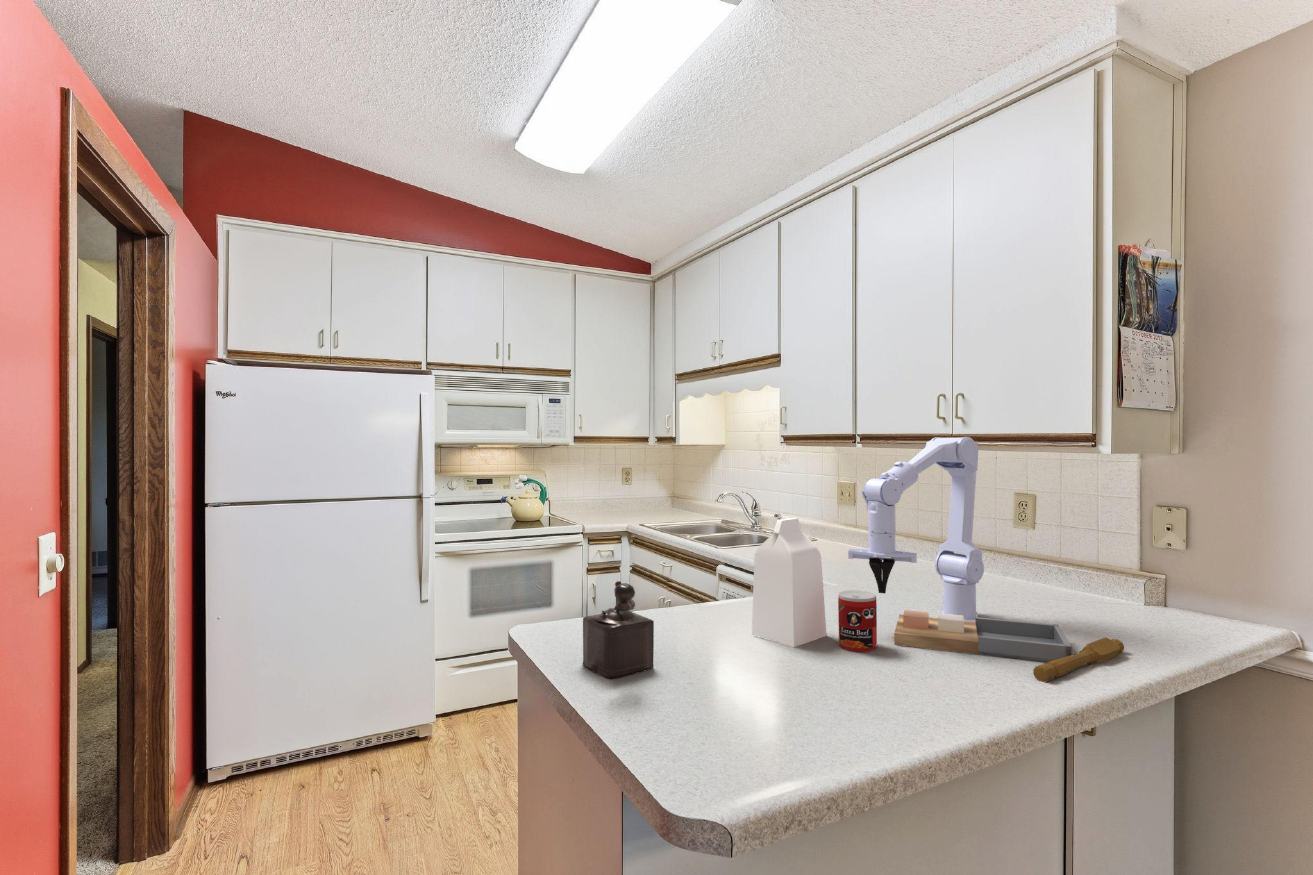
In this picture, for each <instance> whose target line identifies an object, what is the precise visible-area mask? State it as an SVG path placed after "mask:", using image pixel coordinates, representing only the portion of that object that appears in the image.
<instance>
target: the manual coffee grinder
mask: <svg viewBox="0 0 1313 875" xmlns="http://www.w3.org/2000/svg"><path fill="white" fill-rule="evenodd" d="M614 586H615V587H614V589H613V592H614V597H615V606H614V607H609V608H608V609H606V610H601V613H599V614H594V615H589V616H588V615H587V616H583V618H582V655H583V656H582V665H583V666H584V665H585V666H584V667H586V668H587V669H589V670H590V671H591V672H594V673H595V674H598V675H600V676H603V677H605V678H608V679H616V678H617V679H618V678H623V677H628V676H631V675H635V673H636V674H638V673H637V672H640V673H642V671H643V672H645V671H644V670H646V671H649V670H652V669H653V668H654V646H655V645H654V644H655V640H654V639H655V638H654V637H655V633H654V630H655V629H654V627H655V626H654V625H655V624H654V622H655V620H652V619H651V618H648V617H646V616H643V615H640V614H638V613H636V612H633V611H631V610H633V609H636V603H635V600H633V598H634V597H635V596H636V591H635V588H634V586H633V585H631V584H629V583H626V582H625V583H623V582H622V581H620V580H617V581H615V583H614ZM651 668H652V669H651ZM648 669H649V670H648Z"/></svg>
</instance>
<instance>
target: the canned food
mask: <svg viewBox="0 0 1313 875" xmlns="http://www.w3.org/2000/svg"><path fill="white" fill-rule="evenodd" d="M837 597H838V598H837V604H838V610H837V611H838V644H839V646H840V647H841V648H842V649H843V650H846V651H850V652H858V653H865V652H871V651H872V652H873V651H874V650H875V649H876V648H877V644H878V638H877V637H878V636H877V635H878V634H877V633H878V632H877V631H878V626H877V624H878V623H877V611H878V610H877V609H878V608H877V606H878V605H877V594H875V593H874V592H872V591H871V592H870V591H866V590H859V589H849V590H842V591H839V592H838V596H837Z"/></svg>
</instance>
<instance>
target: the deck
mask: <svg viewBox="0 0 1313 875" xmlns="http://www.w3.org/2000/svg"><path fill="white" fill-rule="evenodd" d="M903 615H904V614H898V618H897V621H896V626H895V629H894V633H893V634H894V636H893V637H894V640H893V641H894V645H895V646H902V647H911V648H920V649H930V650H936V651H947V652H953V653H954V652H955V653H963V654H970V655H971V654H973V655H979V642H978V635H977V629H976V623H975V622H974V621H964V633H958V632H948V631H938V617H933V616H931V617H929V626H928V629H919V628H909V627H903Z"/></svg>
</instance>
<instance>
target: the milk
mask: <svg viewBox="0 0 1313 875" xmlns="http://www.w3.org/2000/svg"><path fill="white" fill-rule="evenodd" d="M753 561H754V564H753V585H752V586H753V590H752V592H753V593H752V618H751V620H752V621H751V636H752V635H756V636H760V637H763V638H767V639H769V640H773V641H775V642H774V643H776V642H779V643H778V644H780V643H781V644H780V645H783V644H784V646H787V645H788V646H787V647H791V648H796V647H799V646H802V645H804V644H807V643H811V642H813V641H816V640H819V639H821V638H824V637H827V633H828V632H827V620H826V608H825V607H826V606H825V605H826V604H825V593H824V582H823V581H824V580H823V579H824V578H823V566H822V565H823V563H822V556H821V551H820V550H819V548H818V547H817V546H816V544H814V542H813V541H812V540H811V539H810V538H809V537H808V536H807V535H806V534H805V532H803V531H802V530H801V524H800V521H799V518H798V517H791V518H784V519H777V520H776V523H775V526H774V530H773V533H772V534H771V535H770V536H769V537H767V539H766V540H765V541H764V542H763V543H762V544H761V545H760V546H759V547H758V548H757V549H756V551H755V553H754V560H753ZM769 640H768V641H769ZM773 641H772V642H773Z"/></svg>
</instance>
